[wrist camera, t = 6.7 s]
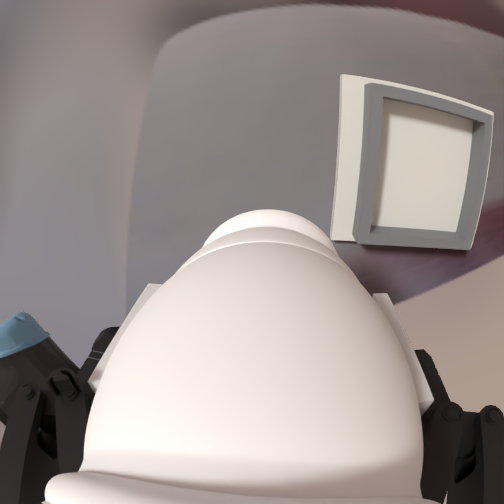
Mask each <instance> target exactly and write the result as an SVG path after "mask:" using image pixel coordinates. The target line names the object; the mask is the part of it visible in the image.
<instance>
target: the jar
mask: <svg viewBox="0 0 504 504" xmlns="http://www.w3.org/2000/svg"><path fill="white" fill-rule="evenodd" d="M422 466H423V432H422V422H421V415H420V409H419V403H418V398H417V393H416V389H415V385H414V381H413V378H412V374H411V371H410V368H409V365H408V362H407V360H406V357H405V354H404V352H403V349H402V347H401V345H400V343H399V341H398V338H397V336H396V334H395V332H394V331H393V329H392V327H391V325H390V323H389V322H388V320H387V318H386V317H385V315H384V313H383V312H382V310H381V309H380V307H379V306H378V305H377V303H376V302H375V300H374V299H373V298H372V297H371V295H370V294H369V293H368V291H367V290H366V289H365V288H364V287H363V286H362V285H361V283H360V282H359V280H358V279H357V277H356V276H355V275H354V273H353V272H352V271H351V270H350V268H349V267H348V266H347V265H346V264H345V263H344V262H343V260H342V259H341V258H340V257H338V255H337V252H336V250H335V248H334V246H333V244H332V242H331V241H330V239H329V238H328V237H327V236H326V234H325V233H324V232H323V231H322V230H321V229H320V228H319V227H317V226H316V225H315V224H313V223H312V222H310V221H309V220H307V219H305V218H303V217H301V216H299V215H296V214H293V213H290V212H286V211H281V210H271V209H266V210H255V211H250V212H246V213H243V214H240V215H238V216H235V217H233V218H231V219H229V220H228V221H226V222H225V223H223V224H222V225H220V226H219V227H218V228H217V229H216V230H215V231H214V232H213V233H212V234H211V235H210V236H209V238H208V239H207V240H206V242H205V244H204V245H203V247H202V249H200V250H199V251H198V252H196V253H195V254H194V255H193V256H192V257H190V258H189V259H188V260H187V261H186V262H185V263H184V264H183V265H182V266H181V267H180V268H179V270H178V271H177V272H176V273H175V274H174V275H173V276H172V277H171V278H170V279H168V280H167V281H166V282H165V283H164V284H163V285H162V286H161V287H160V288H159V289H158V290H157V291H156V292H155V293H154V294H153V295H152V296H151V297H150V298H149V300H148V301H147V302H146V303H145V304H144V305H143V307H142V308H141V309H140V310H139V312H138V313H137V314H136V316H135V317H134V318H133V320H132V321H131V323H130V324H129V326H128V327H127V329H126V330H125V332H124V333H123V335H122V337H121V338H120V340H119V342H118V344H117V346H116V347H115V349H114V351H113V353H112V355H111V357H110V359H109V361H108V364H107V366H106V368H105V370H104V373H103V375H102V378H101V380H100V383H99V385H98V388H97V391H96V394H95V397H94V400H93V403H92V407H91V410H90V414H89V418H88V423H87V428H86V434H85V442H84V459H83V462H82V465H81V467H80V469H79V471H78V472H74V473H63V474H59V475H56V476H54V477H53V478H51V479H50V480H49V482H48V483H47V485H46V488H45V501H43V502H41V503H43V504H440V503H438V502H435V501H432V500H428V499H423V498H422V494H421V489H420V480H421V474H422Z"/></svg>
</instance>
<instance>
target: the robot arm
mask: <svg viewBox="0 0 504 504" xmlns="http://www.w3.org/2000/svg"><path fill="white" fill-rule="evenodd" d="M161 286H162V284H150V283H148V285H147V286H146V288H145V289H144V291H143V292H142V294H141V295H140V297H139V299H138V300H137V302H136V303H135V305H134V306H133V308H132V309H131V311H130V312H129V314H128V316H127V317H126V319H125V320H124V322H123V323H122V325H121V327H110V328H107V329H105V330H103V331H102V332H101V333H100V334H99V336H98V337H97V339H96V340H95V342H94V344H93V347H92V351H91V353H90V355H89V357H88V358H87V359H86V361H85V362H84V364H83V366H82V367H81V369H79V368H78V367H77V366H76V365H75V364H74V363H73V362H72V361H71V360H70V359H69V358H68V357H67V355H66V354H65V353H64V352H63V351H62V350H61V349H60V348H59V347H58V346H57V344H56V343H55V342H54V341H53V340H52V339H51V338H50V337H49V336H50V334H49V333H48V332H46V331H45V330H44V329H43V328H42V327H41V326H40V325H39V324H38V323H37V322H36V320H35V319H34V318H33V317H32V316H31V315H30V314H28V313H26V312H19V313H16V314H15V315H13V316H12V317H10V318H9V319H8V320H6V321H5V322H4V323H2V324H1V325H0V504H43V503H41V502H43V501H45V488H46V485H47V483H48V482H49V480H50V479H51V478H53V477H54V476H56V475H59V474H63V473H74V472H78V471H79V469H80V467H81V465H82V462H83V459H84V442H85V434H86V428H87V423H88V418H89V414H90V410H91V407H92V403H93V400H94V397H95V394H96V391H97V388H98V385H99V383H100V380H101V378H102V375H103V373H104V370H105V368H106V366H107V364H108V361H109V359H110V357H111V355H112V353H113V351H114V349H115V347H116V346H117V344H118V342H119V340H120V338H121V337H122V335H123V333H124V332H125V330H126V329H127V327H128V326H129V324H130V323H131V321H132V320H133V318H134V317H135V316H136V314H137V313H138V312H139V310H140V309H141V308H142V307H143V305H144V304H145V303H146V302H147V301H148V300H149V298H150V297H151V296H152V295H153V294H154V293H155V292H156V291H157V290H158V289H159V288H160V287H161ZM372 298H373V299H374V300H375V302H376V303H377V305H378V306H379V307H380V309H381V310H382V312H383V313H384V315H385V317H386V318H387V320H388V322H389V323H390V325H391V327H392V329H393V331H394V332H395V334H396V336H397V338H398V341H399V343H400V345H401V347H402V349H403V352H404V354H405V357H406V360H407V362H408V365H409V368H410V371H411V374H412V378H413V381H414V385H415V389H416V393H417V398H418V403H419V409H420V415H421V422H422V432H423V466H422V474H421V480H420V489H421V494H422V498H423V499H428V500H432V501H435V502H438V503H440V504H443V502H444V499H445V496H446V493H447V490H448V493H447V503H446V504H504V416H503V413H502V412H501V410H500V409H499V408H497V407H496V406H493V405H489V406H485V407H484V408H483V409H482V410H481V411H480V412H479V413H476V412H465V411H463V410H462V408H461V407H460V406H459V405H458V404H456V403H454V402H451V401H450V399H449V397H448V394H447V392H446V390H445V387H444V385H443V383H442V380H441V378H440V376H439V375H438V372H437V369H436V368H435V364H434V362H433V360H432V358H431V356H430V355H429V354H428V353H426V351H425V350H424V349H422V350H414V349H413V347H412V345H411V342H410V340H409V338H408V336H407V333H406V331H405V329H404V327H403V325H402V323H401V321H400V318H399V316H398V314H397V312H396V310H395V308H394V306H393V304H392V302H391V300H390V298H389V296H388V294H387V293H373V297H372Z"/></svg>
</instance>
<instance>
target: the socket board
mask: <svg viewBox="0 0 504 504" xmlns="http://www.w3.org/2000/svg"><path fill="white" fill-rule="evenodd" d="M493 113H494V112H491V111H489V110H486V109H484V108H481V107H478V106H475V105H473V104H470V103H467V102H464V101H461V100H458V99H455V98H451V97H448V96H445V95H442V94H438V93H434V92H431V91H427V90H423V89H419V88H415V87H411V86H407V85H402V84H398V83H393V82H388V81H383V80H377V79H372V78H366V77H359V76H352V75H345V74H342V75H340V103H339V129H338V148H337V163H336V177H335V189H334V200H333V210H332V219H331V229H330V238H331V240H341V241H356V243H357V244H370V245H390V246H409V247H427V248H444V249H461V250H470V248H471V247H472V243H473V240H474V236H475V232H476V228H477V224H478V220H479V216H480V211H481V207H482V202H483V197H484V192H485V186H486V181H487V174H488V168H489V160H490V152H491V142H492V131H493Z"/></svg>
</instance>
